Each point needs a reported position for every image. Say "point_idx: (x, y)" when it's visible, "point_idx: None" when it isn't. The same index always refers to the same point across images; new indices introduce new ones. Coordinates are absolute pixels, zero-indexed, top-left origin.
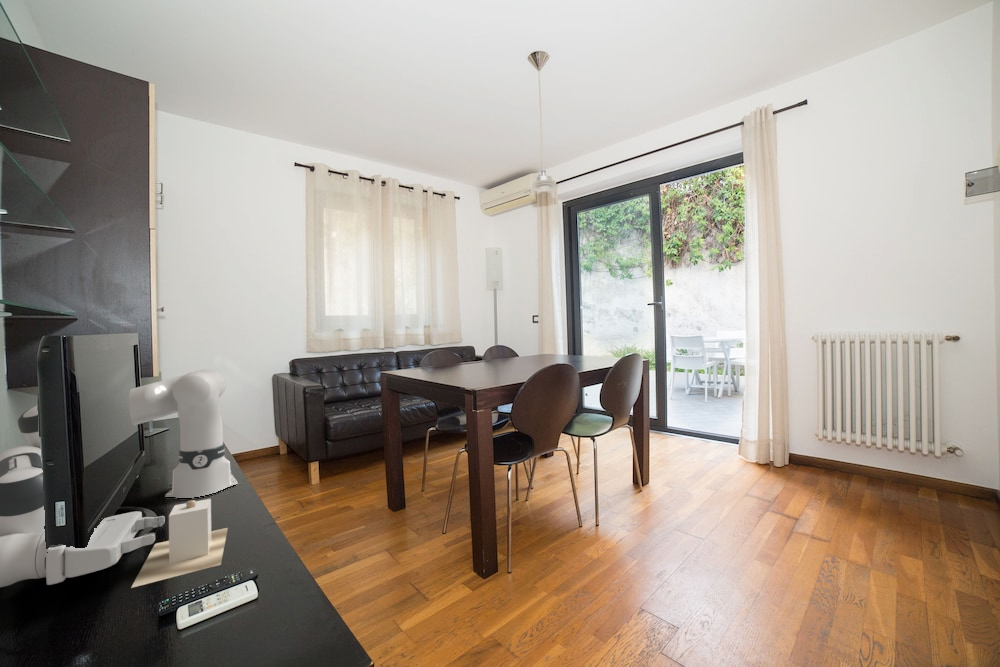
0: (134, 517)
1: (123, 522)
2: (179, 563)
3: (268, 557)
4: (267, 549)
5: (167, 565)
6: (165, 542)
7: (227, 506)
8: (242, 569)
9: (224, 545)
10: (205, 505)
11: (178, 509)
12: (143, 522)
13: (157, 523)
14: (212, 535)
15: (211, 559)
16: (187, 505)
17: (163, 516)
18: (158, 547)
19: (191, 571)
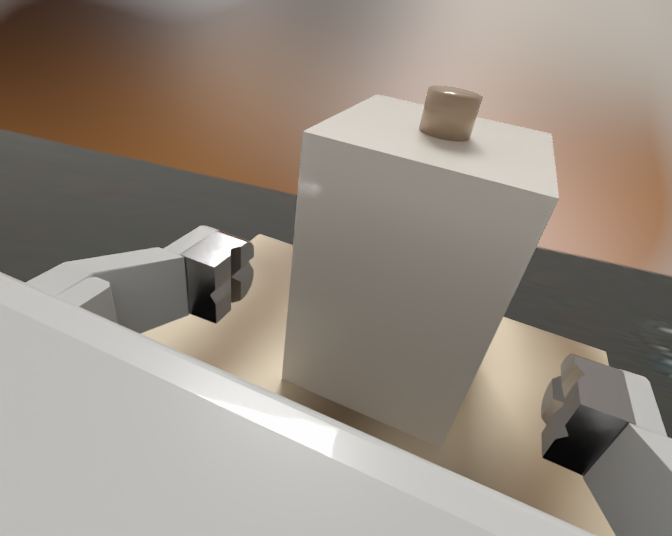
0: (22, 295)
1: (42, 405)
2: (475, 421)
3: (593, 282)
4: (529, 264)
5: (458, 460)
6: None
7: (20, 173)
8: (645, 337)
9: None
10: (487, 122)
11: (439, 152)
12: (112, 312)
13: (231, 284)
14: (277, 271)
15: (530, 349)
16: (469, 120)
17: (210, 228)
18: None
19: None
